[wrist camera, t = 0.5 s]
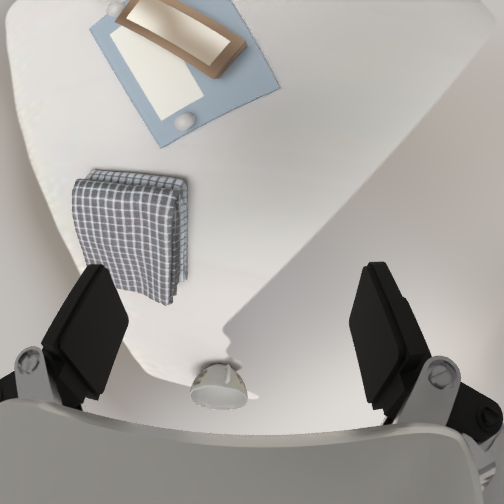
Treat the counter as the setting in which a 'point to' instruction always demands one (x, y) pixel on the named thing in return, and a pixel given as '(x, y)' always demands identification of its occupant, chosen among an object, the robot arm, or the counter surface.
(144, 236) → the towel
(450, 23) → the counter surface
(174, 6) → the frame
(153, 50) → the panel
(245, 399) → the teacup
